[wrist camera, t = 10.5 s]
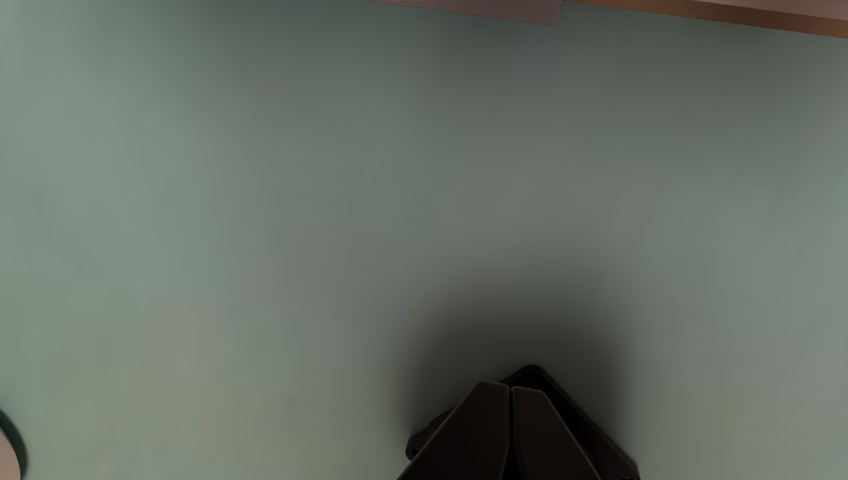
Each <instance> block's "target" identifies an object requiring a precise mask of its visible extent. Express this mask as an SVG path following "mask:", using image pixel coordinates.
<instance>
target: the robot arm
mask: <svg viewBox="0 0 848 480" xmlns="http://www.w3.org/2000/svg"><path fill="white" fill-rule="evenodd" d="M529 378H536V379H538V381H537V382H534V383H532V382H529V381H527V379H529ZM415 448H420V449H421V450H420V451H418V450H416V449H415ZM405 452H406V456H407V457H408V459H409V460H410V461H411V462H410V464H409V465H408V466H407V467H406V469H405V470H404V471H403V472H402V473H401V475H400V476H399V477H398V478H397V480H641V479H640V474H639V471H638V469H637V468H636V467H635V466H634V464H633V463H632V462H631V461H630V460H629V459H628V458H627V457H626V456H625V455H624V454H623V453H622V452H621V451H620V450H619V449H618V448H617V447H616V445H615V444H614V443H613V442H612V441H611V440H610V439H609V438H608V437H607V436H606V435H605V434H604V433H603V432H602V431H601V430H600V429H599V428H598V426H597V425H596V424H595V423H594V422H593V421H592V420H591V419H590V418H589V417H588V416H587V415H586V414H585V413H584V412H583V411H582V410H581V409H580V407H579V406H578V405H577V404H576V403H575V402H574V401H573V400H572V399H571V398H570V397H569V396H568V395H567V394H566V393H565V392H564V391H563V390H562V389H561V387H560V386H559V385H558V384H557V383H556V382H555V381H554V380H553V379H552V378H551V377H550V376H549V375H548V374H547V373H546V372H545V371H544V370H543V369H542V368H541V367H539V366H535V365H528V366H526V367H523V368H522V369H520V370H519V371H517V372H515V373H514V374H512V375H511V376H509V377H507V378H506V379H504V380H503V381H501V382H499V383H497V382H491V381H486V380H479V381H477V382H476V383H475V384H474V385H473V386H472V388H471V389H470V390H469V391H468V392H467V394H466V395H465V396H464V397H463V399H462V400H461V401H460V402H459V404H458V405H456V406H454V407H453V408H451V409H450V410H448V411H446V412H445V413H443V414H442V415H440V416H438V417H437V418H435V419H434V420H432V421H431V422H430V426H429V427H427V428H426V429H424V430H422V431H421V432H419V433H418V434H416V435H414V436H413V437H411V438H410V439H409V440H408V443H407V446H406V451H405ZM626 476H627V477H630V478H628V479H623V478H622V477H626Z"/></svg>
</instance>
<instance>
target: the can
mask: <svg viewBox="0 0 848 480" xmlns="http://www.w3.org/2000/svg"><path fill="white" fill-rule="evenodd" d="M0 480H20V468H19V463H18V460H17V457H16V454H15V451H14V449H13V447H12V444H11V442H10V440H9V438H8V436H7V435H6V433H5V432H4V430H3V429H2V427H1V426H0Z"/></svg>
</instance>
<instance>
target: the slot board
mask: <svg viewBox="0 0 848 480" xmlns="http://www.w3.org/2000/svg"><path fill="white" fill-rule="evenodd" d="M564 1H571V2H579V3H586V4H594V5H601V6H609V7H616V8H624V9H631V10H638V11H646V12H653V13H661V14H668V15H676V16H683V17H691V18H698V19H705V20H713V21H720V22H728V23H735V24H743V25H750V26H758V27H765V28H773V29H780V30H787V31H795V32H802V33H810V34H817V35H825V36H832V37H840V38H847V39H848V0H564Z"/></svg>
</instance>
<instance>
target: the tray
mask: <svg viewBox="0 0 848 480" xmlns="http://www.w3.org/2000/svg"><path fill="white" fill-rule="evenodd" d="M369 1H376V2H383V3H391V4H398V5H405V6H412V7H420V8H427V9H434V10H442V11H449V12H456V13H463V14H471V15H478V16H485V17H493V18H500V19H507V20H514V21H522V22H529V23H536V24H543V25H551V26H558V21H559V16H560V11H561V5H562V0H369Z"/></svg>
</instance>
